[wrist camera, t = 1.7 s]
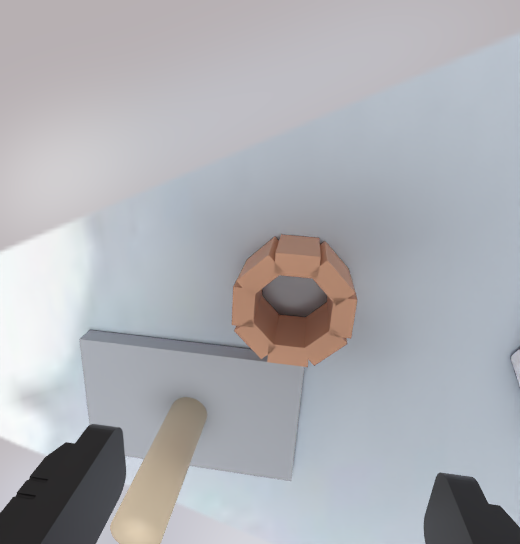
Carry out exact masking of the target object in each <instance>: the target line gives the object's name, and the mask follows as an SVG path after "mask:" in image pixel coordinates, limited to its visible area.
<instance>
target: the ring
mask: <svg viewBox="0 0 520 544" xmlns="http://www.w3.org/2000/svg"><path fill="white" fill-rule="evenodd" d="M279 275H283V276H293V277H303V278H312V279H313V280H314V281H315V282H316V283H317V284H318V285H319V287H320V288H321V289H322V290H323V291H324V292H325V293H326V295H327V302H326V303H325V304H324V305H322V306H321V307H319V308H318V309H316V310H315V311H314V312H312V313H311V314H309V315H308V316H307V317H298V316H289V315H280V314H278V313H277V312H276V310H275V309H274V308H273V307H272V306H271V305H270V304H269V303H268V302H267V301H266V300H265V298H264V297H263V296H262V288H264V287H265V286H266V285H267V284H269V283H270V282H271V281H273V280H274V279H275V278H276V277H278V276H279ZM356 305H357V297H356V293H355V290H354V286H353V283H352V279H351V275H350V272H349V269H348V267H347V266H346V265H345V264H344V263H343V262H342V260H341V259H340V258H339V257H338V256H337V254H336V253H335V252H334V251H333V250H332V249H331V247H330V246H329V245H328V244H327V243H326V241H324V242H323V243H321V244H320V242H319V238H315V237H304V236H293V235H282V234H281V236H280V240H278V239H277V238H276V237H274V238H272V239H271V240H270V241H269V242H268V243H266V244H265V245H264V246H263V247H262V248H260V249H259V250H258V251H257V252H255V253H254V254H253V255H252V256H251V257H249V258H248V259H247V261H246V263H245V265H244V267H243V269H242V271H241V273H240V275H239V276H238V278H237V280H236V282H235V284H234V286H233V306H232V325H236V328H235V330H234V331H235V332H236V333H237V334H238V335H239V336H240V338H241V339H242V340H243V341H244V342H245V343H246V344H247V345H248V346H249V347H250V348H251V349H252V350H253V351H254V352H255V353H256V354H257V355H258V356H259V357H260V359H262V358H264V357H265V356H267V355H268V359H267V362H269V363H277V364H286V365H294V366H302V367H308V359H309V361H310V362H311V363H312V364H313V365H314V366H315V365H316V364H318V363H319V362H321V361H322V360H324V359H325V358H327V357H328V356H330V355H331V354H333V353H334V352H336V351H337V350H339V349H340V348H342V347H343V346H345V345H346V344H347V339H346V338H351V336H352V330H353V323H354V317H355V311H356Z"/></svg>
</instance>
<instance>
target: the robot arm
mask: <svg viewBox="0 0 520 544" xmlns="http://www.w3.org/2000/svg"><path fill="white" fill-rule="evenodd" d="M125 478H126V463H125V451H124V439H123V431H122V429H121V428H120V427H113V426H106V425H99V424H91V425H89V426H88V427H87V428H86V430H85V431H84V432H83V434H82V435H81V436H80V438H79V439H78V440H77V442H76V443H75V444H74V443H67V442H66V443H64V444H63V445H62V446H60V447H59V448H57V449H56V450H55V451H53V452H52V453H51V454H49V455H48V456H46V457H45V458H44V460H43V461H42V462H41V463H40V465H39V466H38V467H37V468H36V470H35V471H34V472H33V473H32V474H31V476H30V479H29V480H27V481H26V482H25V483H24V484H23V486H22V487H21V488H20V490H19V491H18V492H17V495H16V497H13V498H12V499H11V500H10V502H9V503H8V504H7V506H6V507H5V508H4V509H3V511H2V512H1V513H0V544H96V542H97V540H98V538H99V536H100V534H101V532H102V530H103V528H104V527H105V525H106V523H107V521H108V519H109V517H110V515H111V513H112V511H113V509H114V507H115V505H116V503H117V501H118V499H119V497H120V495H121V492H122V490H123V486H124V483H125ZM424 537H425V543H426V544H520V527H519V526H518V525H517V524H516V523H515V522H514V521H513V519H512V518H511V517H510V516H509V515H508V514H507V513H506V512H505V511H504V510H503V509H502V507H501V506H498V505H491V504H488V502H487V500H486V498H485V496H484V494H483V492H482V490H481V488H480V486H479V484H478V482H477V481H476V480H475V479H474V478H473V477H468V476H461V475H454V474H446V473H439V474H438V475H437V476H436V479H435V483H434V486H433V489H432V493H431V496H430V500H429V503H428V506H427V510H426V513H425V517H424Z"/></svg>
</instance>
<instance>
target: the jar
mask: <svg viewBox="0 0 520 544" xmlns="http://www.w3.org/2000/svg"><path fill="white" fill-rule="evenodd" d="M511 361H512V364H513V367H514V370H515V373H516V377H517V380H518V383H519V386H520V349H519V350H518V351H516V352H515V353H514V354H513V355H512V356H511Z"/></svg>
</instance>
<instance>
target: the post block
mask: <svg viewBox="0 0 520 544" xmlns="http://www.w3.org/2000/svg"><path fill="white" fill-rule="evenodd" d="M79 340H80V349H81V357H82V365H83V374H84V382H85V390H86V399H87V407H88V415H89V424H90V425H91V424H99V425H106V426H113V427H120V428H121V429H122V431H123V439H124V451H125V456H128V457H135V458H141V459H144V460H143V462H142V464H141V466H140V468H139V470H138V472H137V474H136V476H135V478H134V480H133V482H132V484H131V486H130V487H129V489H128V492H127V494H126V495H125V497H124V499H123V501H122V503H121V505H120V507H119V509H118V511H117V513H116V515H115V517H114V519H113V521H112V523H111V526H110V530H111V533H112V535H113V537H114V539H115V540H116V541H117V542H118V543H119V544H160V543H161V541H162V538H163V535H164V533H165V530H166V527H167V525H168V522H169V519H170V516H171V514H172V511H173V508H174V505H175V503H176V500H177V497H178V495H179V492H180V489H181V487H182V484H183V481H184V479H185V476H186V473H187V470H188V468H189V466H194V467H201V468H207V469H214V470H220V471H227V472H234V473H240V474H247V475H253V476H260V477H267V478H273V479H280V480H286V481H291V479H292V470H293V461H294V453H295V444H296V436H297V427H298V418H299V410H300V401H301V392H302V384H303V375H304V367H302V366H294V365H286V364H277V363H269V362H267V359H268V355H267V356H265V357H264V358H262V359H260V357H259V356H258V355H257V354H256V353H255V352H254V351H253V350H252V349H246V348H237V347H229V346H221V345H212V344H204V343H195V342H187V341H179V340H170V339H162V338H153V337H145V336H137V335H128V334H120V333H111V332H103V331H95V330H89V331H88V332H87V333H86V334H85V335H83V336H82V337H81V338H80V339H79Z"/></svg>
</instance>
